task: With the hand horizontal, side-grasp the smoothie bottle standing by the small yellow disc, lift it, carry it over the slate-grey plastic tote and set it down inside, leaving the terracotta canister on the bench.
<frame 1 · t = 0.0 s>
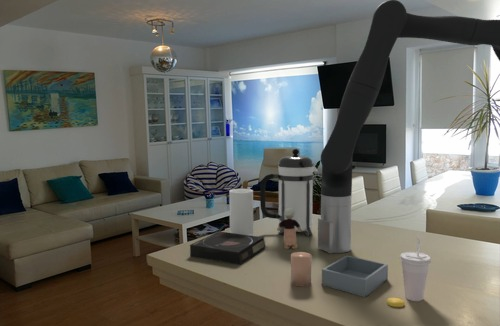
smoothie: (413, 298, 94), on the table
canister: (300, 282, 103), on the table
tote: (355, 282, 103), on the table
grandmother figurine: (289, 247, 132), on the table
yellow disc: (395, 303, 91), on the table
coffee press: (291, 232, 150), on the table
portable cd player: (229, 254, 128), on the table
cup: (241, 236, 146), on the table
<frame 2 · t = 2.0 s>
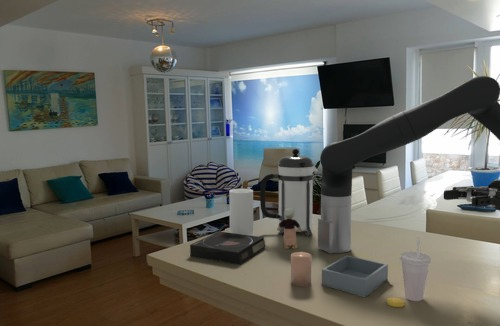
hand: (458, 198, 95), 22 cm above the table, tool horizontal, fingers open, 8 cm apart
nothing on the table moved.
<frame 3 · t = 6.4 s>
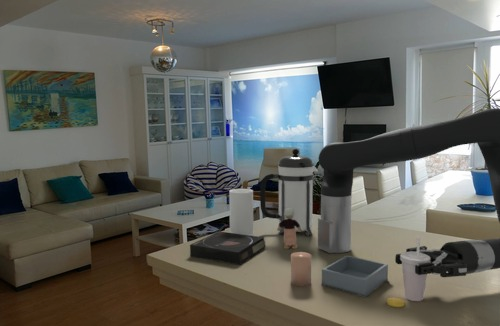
hand: (406, 264, 93), 8 cm above the table, tool horizontal, fingers closed on smoothie, 6 cm apart
smoothie: (413, 298, 94), on the table, touching gripper
everything else where it was.
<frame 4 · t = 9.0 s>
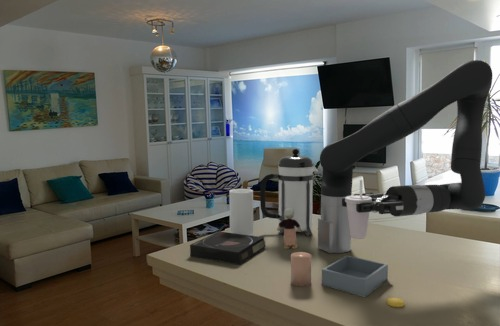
hand: (349, 205, 100), 20 cm above the table, tool horizontal, fingers closed on smoothie, 6 cm apart
smoothie: (358, 237, 102), point 11 cm above the table, touching gripper
everything else where it was.
when the fingers open (10 cm above the table, at t = 11.6 s): smoothie drops 1 cm, resting on tote.
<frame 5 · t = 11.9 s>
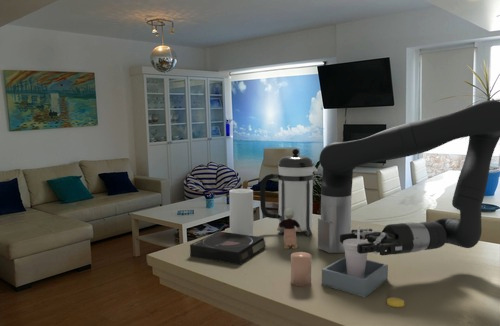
hand: (348, 243, 102), 10 cm above the table, tool horizontal, fingers open, 8 cm apart
smoothie: (355, 280, 103), resting on tote
everything else where it was.
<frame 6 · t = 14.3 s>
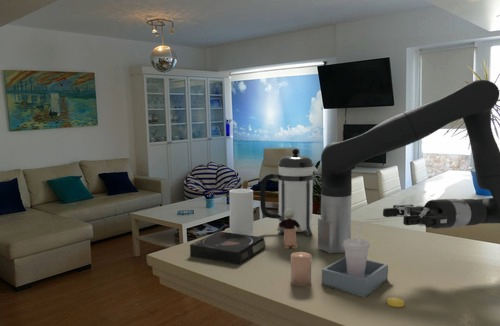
hand: (393, 216, 105), 16 cm above the table, tool horizontal, fingers open, 8 cm apart
nothing on the table moved.
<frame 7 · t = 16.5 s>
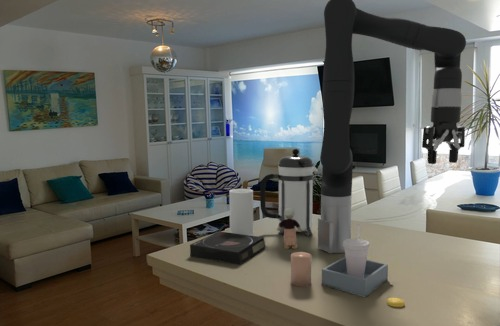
hand: (442, 163, 118), 28 cm above the table, tool pointing down, fingers open, 8 cm apart
nothing on the table moved.
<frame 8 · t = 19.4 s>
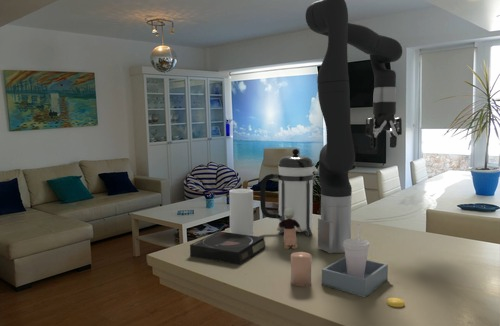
hand: (383, 148, 145), 30 cm above the table, tool pointing down, fingers open, 8 cm apart
nothing on the table moved.
at the end: smoothie 0.2 cm from the tote (horizontally); smoothie resting on tote; smoothie tilted 0° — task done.
